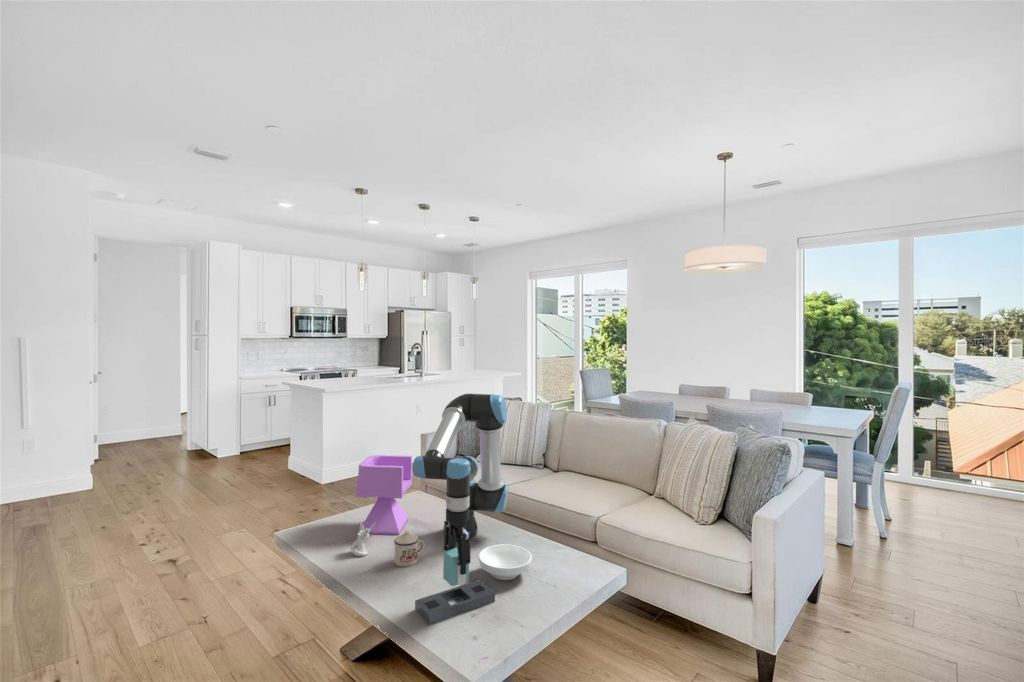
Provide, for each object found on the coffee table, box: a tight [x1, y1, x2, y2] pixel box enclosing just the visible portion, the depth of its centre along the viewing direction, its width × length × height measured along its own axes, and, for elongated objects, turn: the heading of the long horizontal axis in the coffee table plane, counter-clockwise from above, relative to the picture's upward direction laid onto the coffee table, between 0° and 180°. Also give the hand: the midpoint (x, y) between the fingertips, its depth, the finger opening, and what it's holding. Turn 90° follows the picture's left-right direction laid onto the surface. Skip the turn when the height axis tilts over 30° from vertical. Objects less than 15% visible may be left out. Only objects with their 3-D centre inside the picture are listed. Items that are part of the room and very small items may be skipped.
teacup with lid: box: [393, 530, 425, 568], centre depth 188 cm, size 12×9×12 cm
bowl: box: [478, 543, 533, 581], centre depth 179 cm, size 20×20×7 cm
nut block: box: [442, 547, 470, 587], centre depth 158 cm, size 6×6×9 cm
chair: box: [355, 454, 413, 536], centre depth 221 cm, size 20×20×30 cm
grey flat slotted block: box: [414, 579, 496, 626], centre depth 158 cm, size 24×10×3 cm, turn 125°
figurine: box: [350, 521, 375, 557], centre depth 195 cm, size 11×8×12 cm
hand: (456, 578), depth 158 cm, fingers closed on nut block, 6 cm apart
